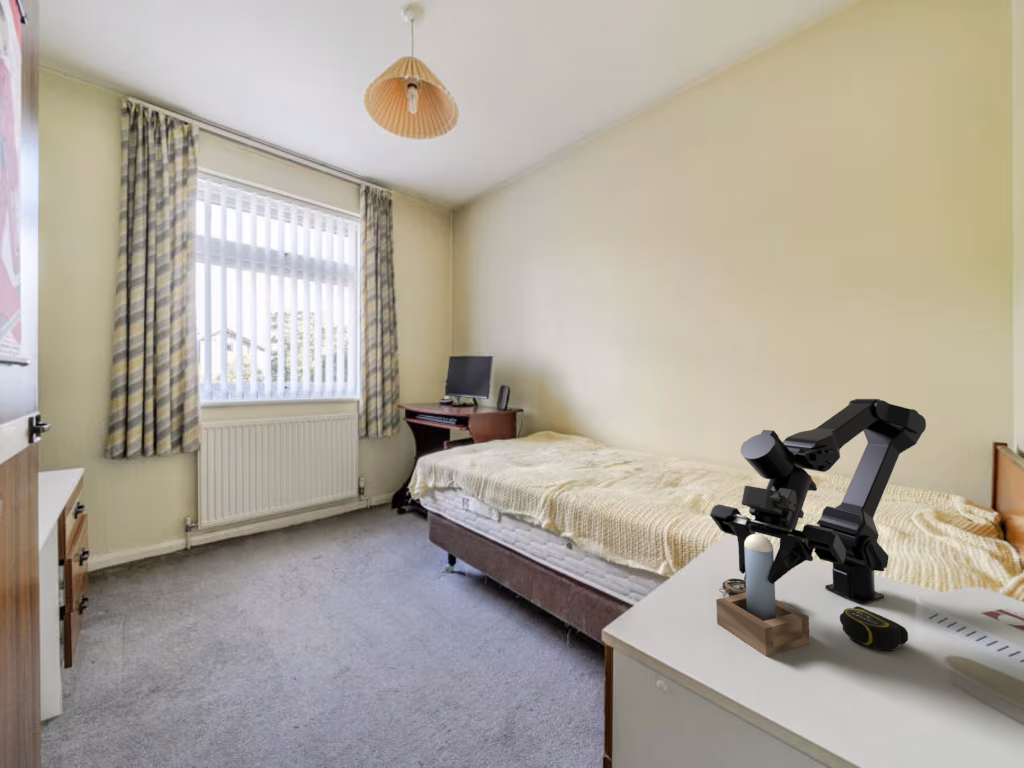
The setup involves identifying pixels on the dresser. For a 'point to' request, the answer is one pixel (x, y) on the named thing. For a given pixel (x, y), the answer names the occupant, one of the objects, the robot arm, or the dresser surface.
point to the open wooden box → (763, 625)
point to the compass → (734, 586)
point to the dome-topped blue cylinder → (759, 577)
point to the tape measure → (872, 629)
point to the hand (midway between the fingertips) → (755, 576)
